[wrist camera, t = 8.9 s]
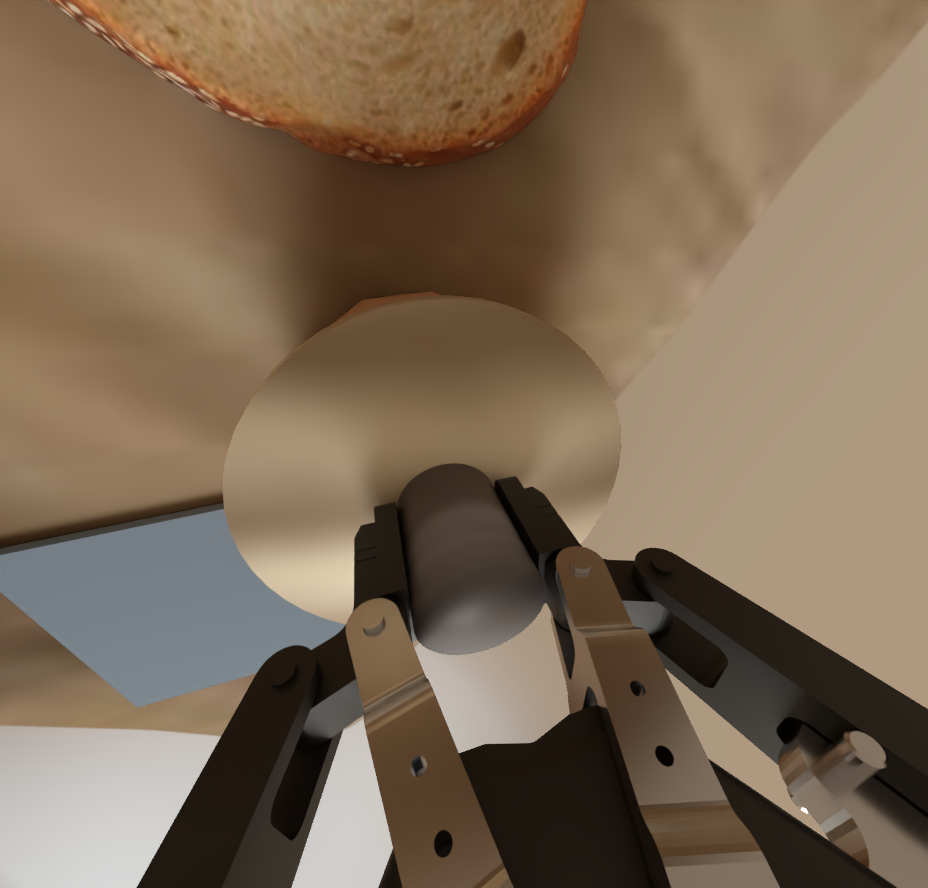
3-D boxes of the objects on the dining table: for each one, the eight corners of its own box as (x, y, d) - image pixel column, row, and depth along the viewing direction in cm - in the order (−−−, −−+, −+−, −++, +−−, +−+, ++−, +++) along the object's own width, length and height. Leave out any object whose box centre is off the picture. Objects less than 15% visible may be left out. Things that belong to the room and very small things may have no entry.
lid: (133, 331, 9) (-82, 428, 4) (636, 269, 11) (812, 292, 7) (307, 646, 16) (289, 798, 12) (589, 568, 19) (660, 670, 14)
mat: (-24, 553, 18) (-35, 562, 17) (294, 488, 20) (292, 494, 20) (141, 698, 26) (136, 707, 25) (355, 637, 28) (355, 645, 28)
